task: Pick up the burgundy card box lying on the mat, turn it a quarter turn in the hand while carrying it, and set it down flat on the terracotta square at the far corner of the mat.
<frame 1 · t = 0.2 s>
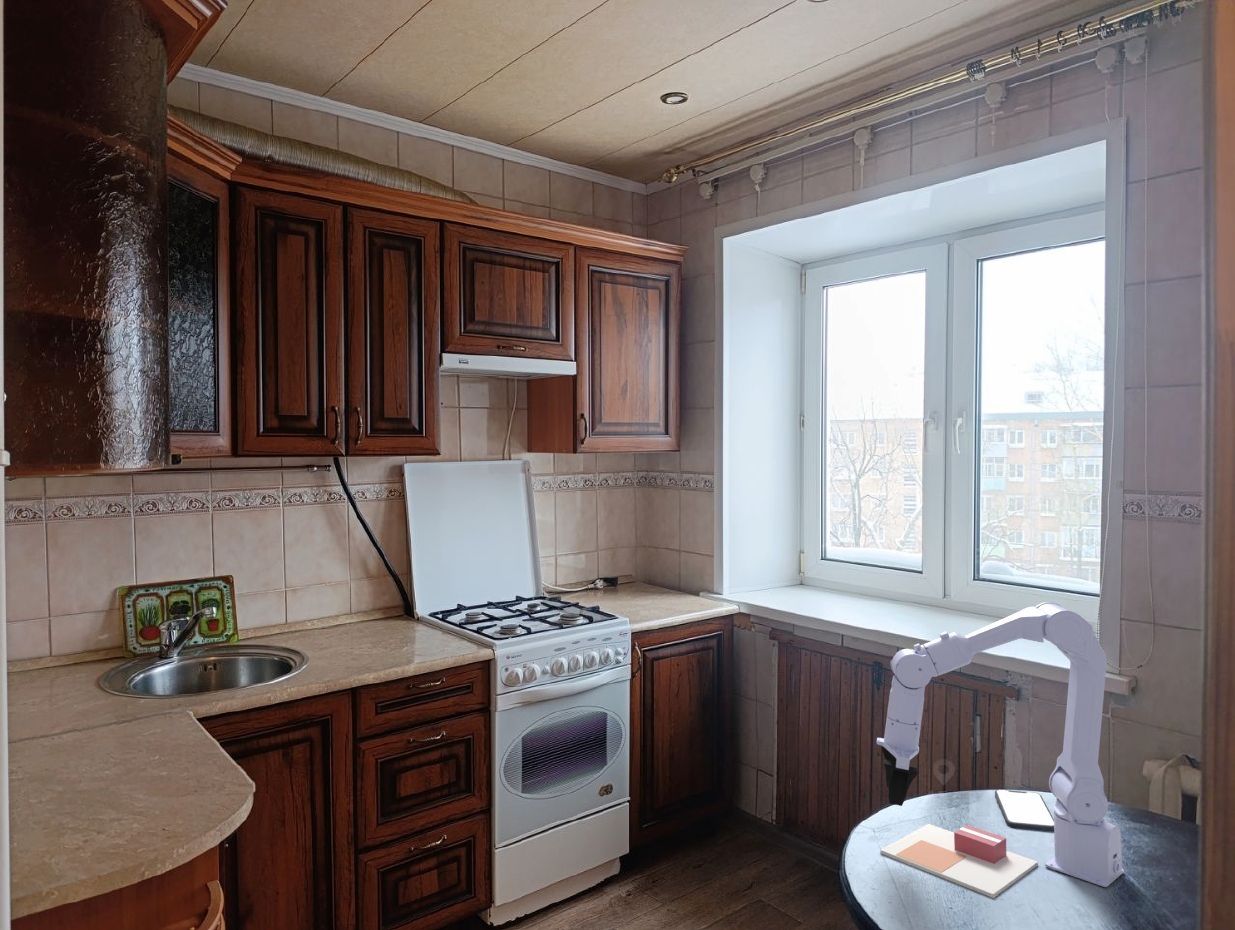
hand: (894, 795, 142), 10 cm above the table, tool pointing down, fingers open, 7 cm apart
mat: (957, 859, 140), on the table
smartphone: (1024, 815, 158), on the table
card box: (980, 852, 141), point 1 cm above the table, touching mat
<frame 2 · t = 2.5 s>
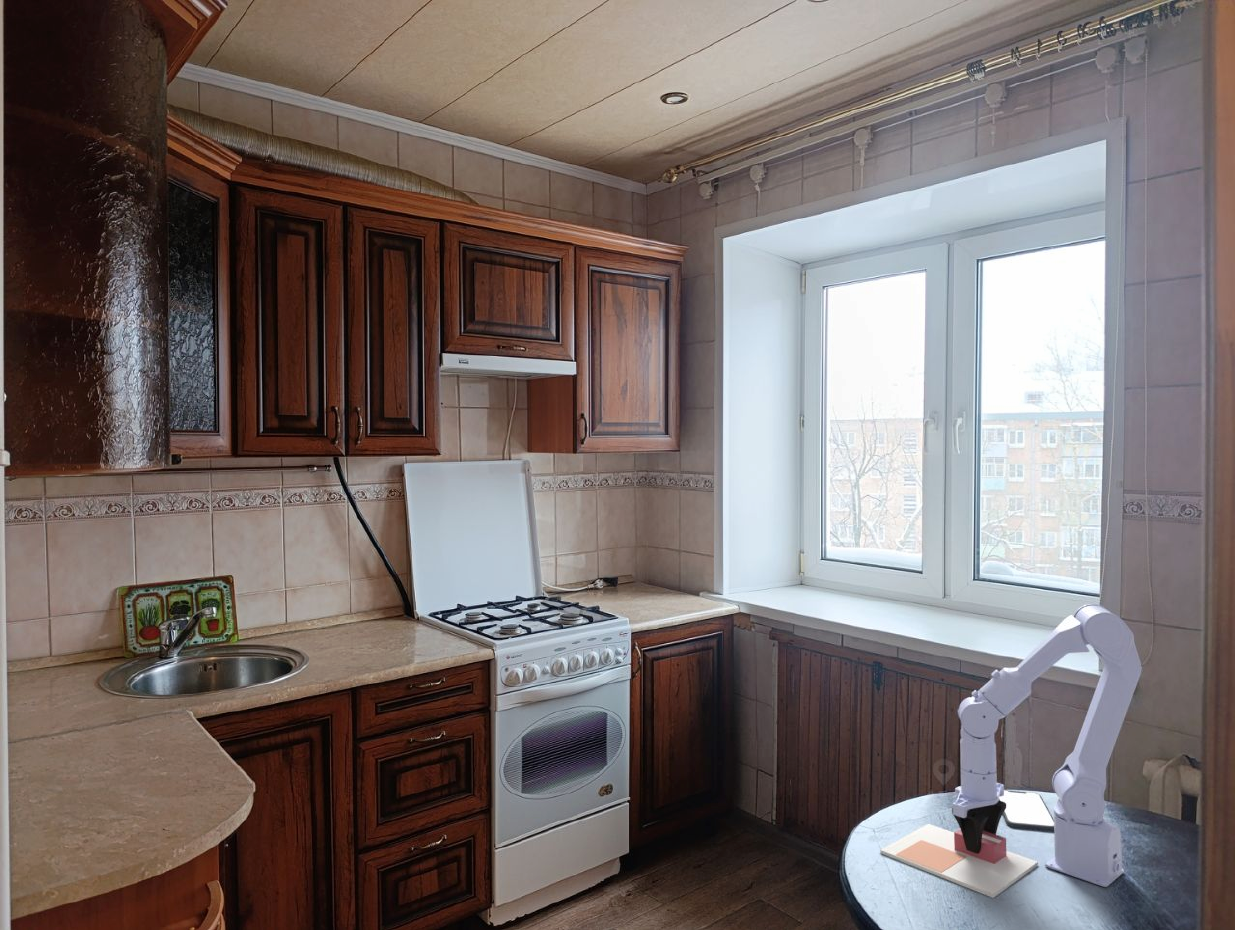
hand: (980, 846, 141), 2 cm above the table, tool pointing down, fingers closed on card box, 4 cm apart
card box: (980, 852, 141), point 1 cm above the table, touching gripper, mat
everything else where it was.
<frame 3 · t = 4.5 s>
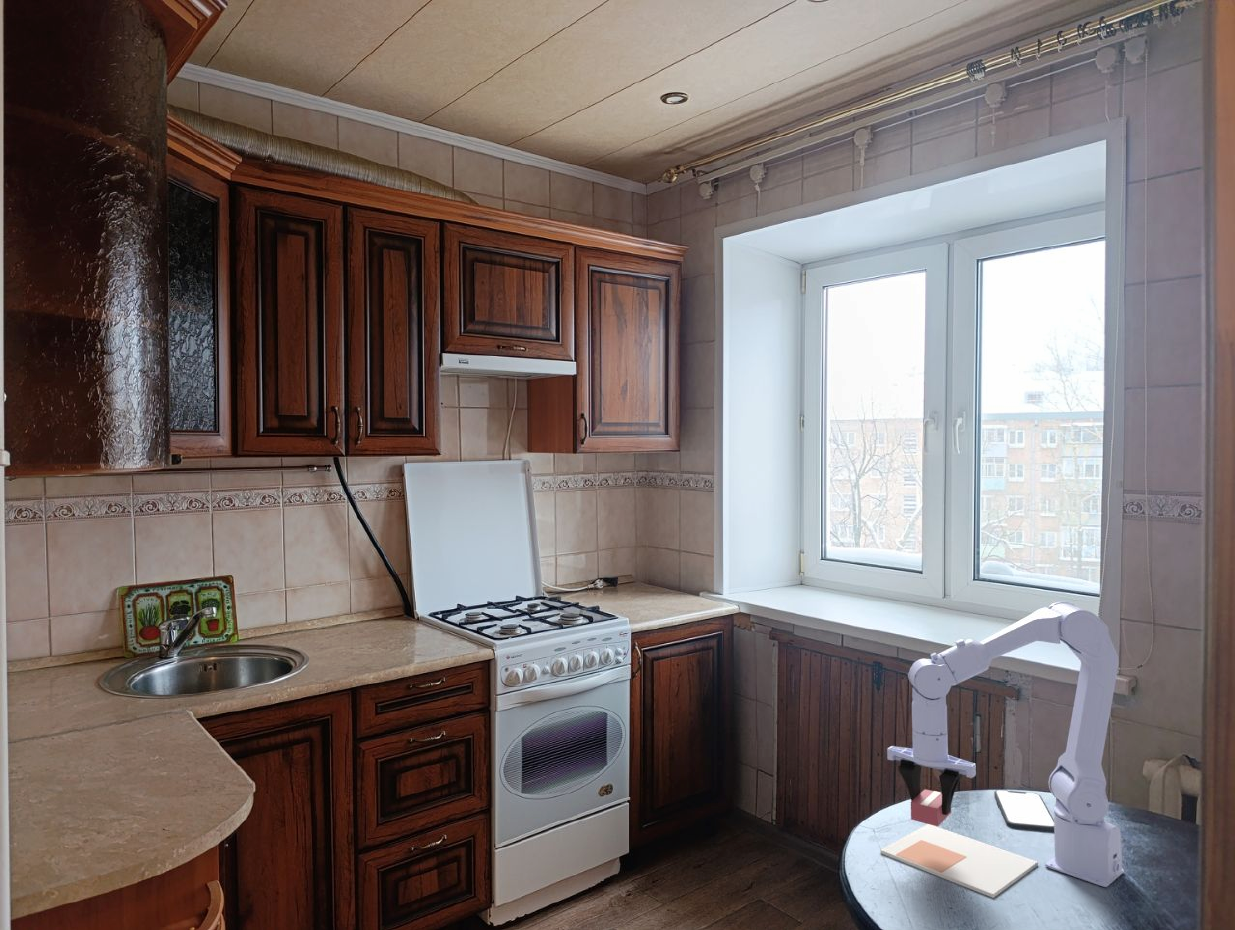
hand: (931, 809, 140), 9 cm above the table, tool pointing down, fingers closed on card box, 4 cm apart
card box: (931, 815, 140), point 7 cm above the table, touching gripper
everything else where it was.
when the fingers open (3 cm above the table, at t = 6.5 s): card box drops 1 cm, resting on mat.
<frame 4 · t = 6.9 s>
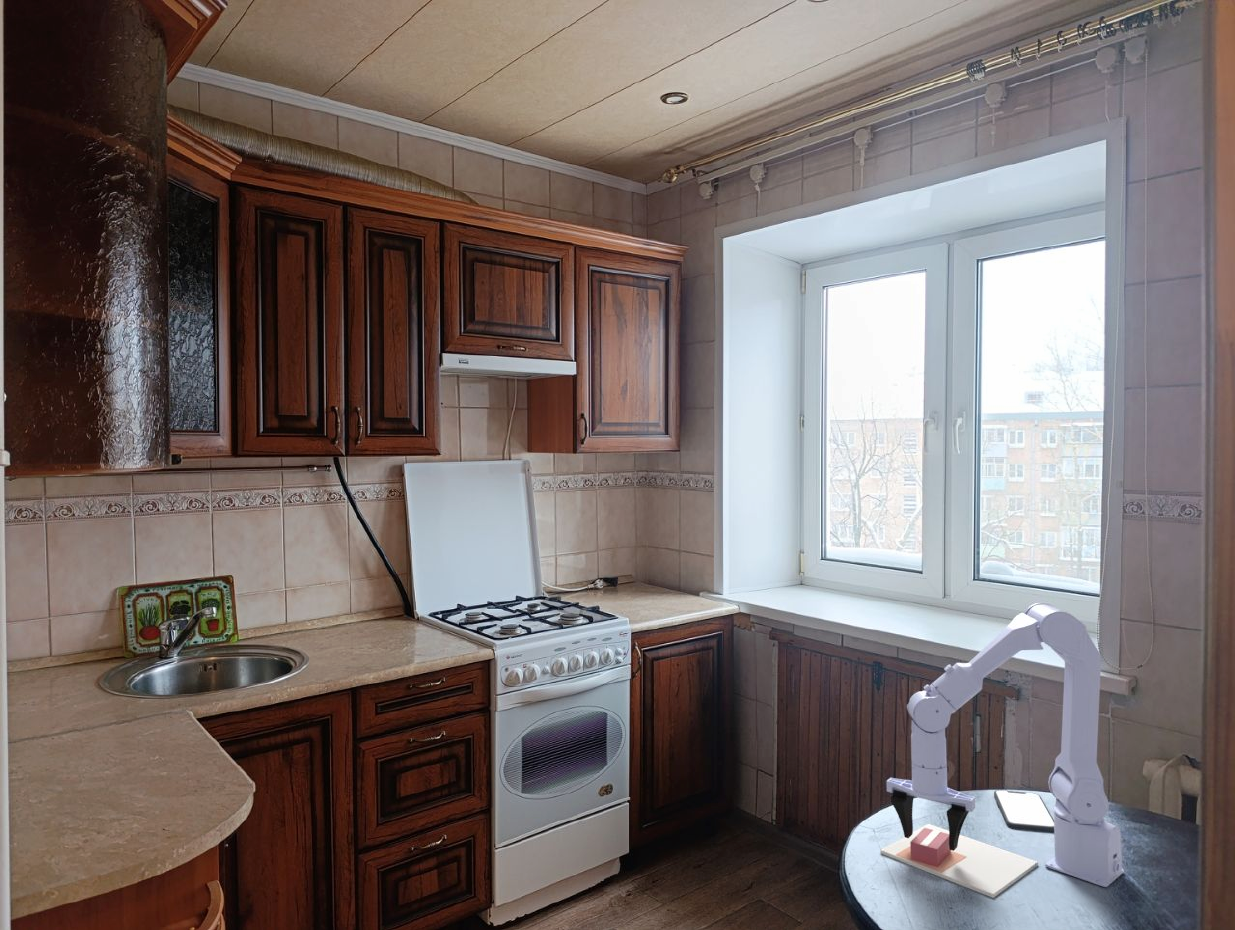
hand: (930, 841, 140), 3 cm above the table, tool pointing down, fingers open, 7 cm apart
card box: (930, 855, 140), point 1 cm above the table, touching mat
everything else where it was.
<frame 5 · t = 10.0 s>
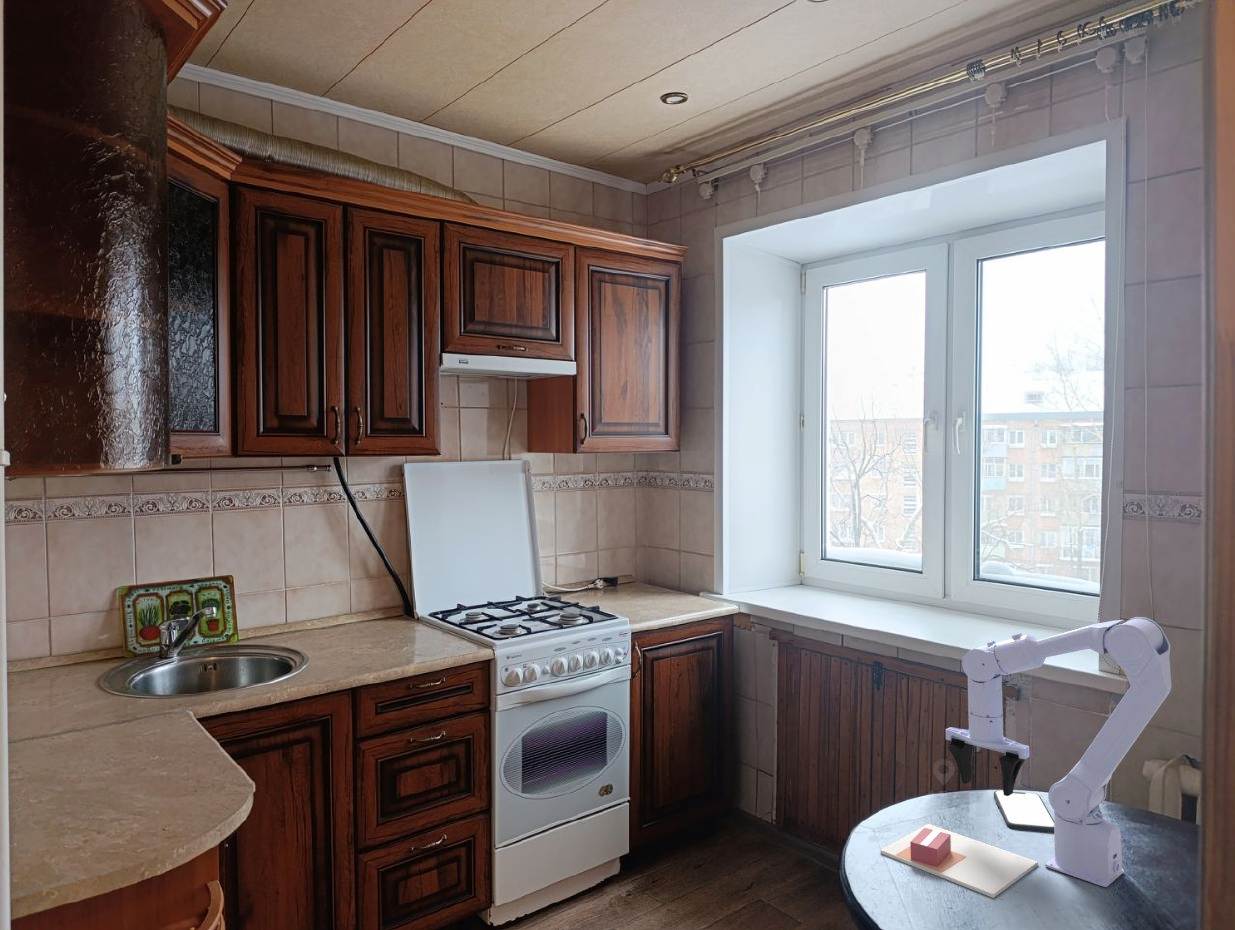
hand: (987, 788, 147), 9 cm above the table, tool pointing down, fingers open, 7 cm apart
nothing on the table moved.
at the end: card box 0.0 cm from the target spot on the mat, point 0.7 cm above the mat's base; card box tilted 0°; the gripper is holding nothing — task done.
